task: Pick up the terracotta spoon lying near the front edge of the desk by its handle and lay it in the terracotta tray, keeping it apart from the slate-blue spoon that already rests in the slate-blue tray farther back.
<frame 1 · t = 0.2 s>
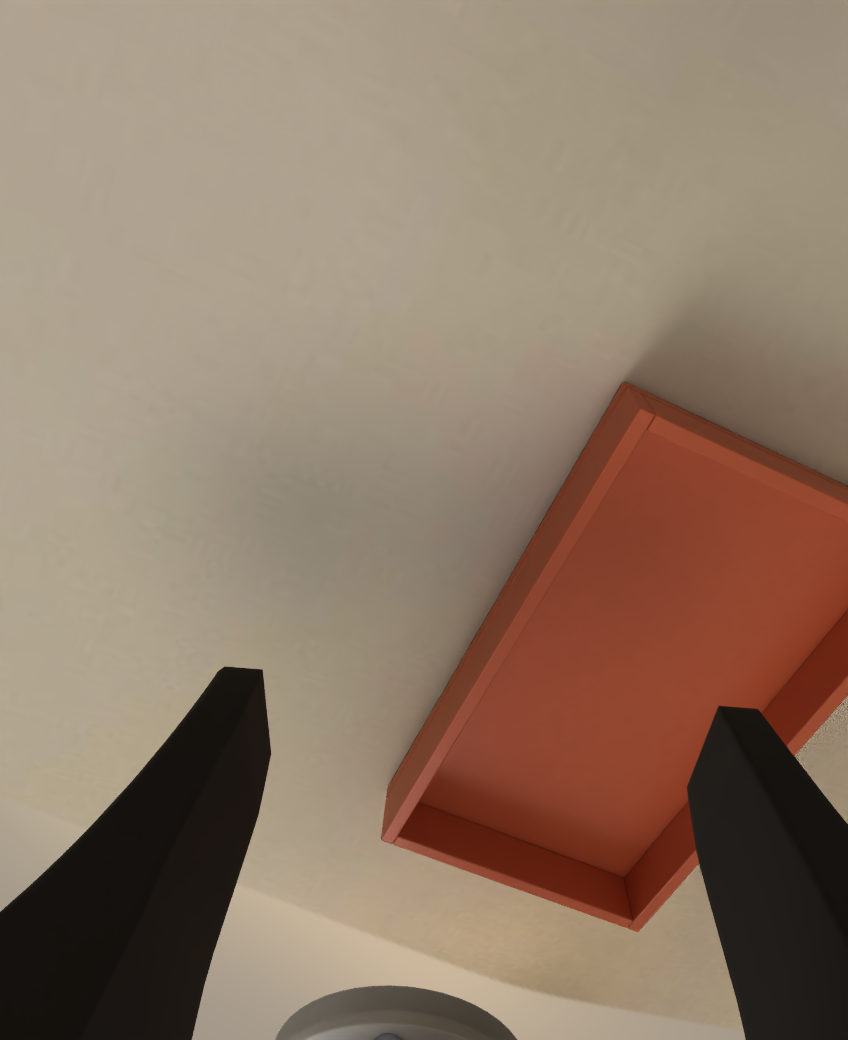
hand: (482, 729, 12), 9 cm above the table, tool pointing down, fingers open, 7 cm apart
red tray: (624, 669, 22), on the table
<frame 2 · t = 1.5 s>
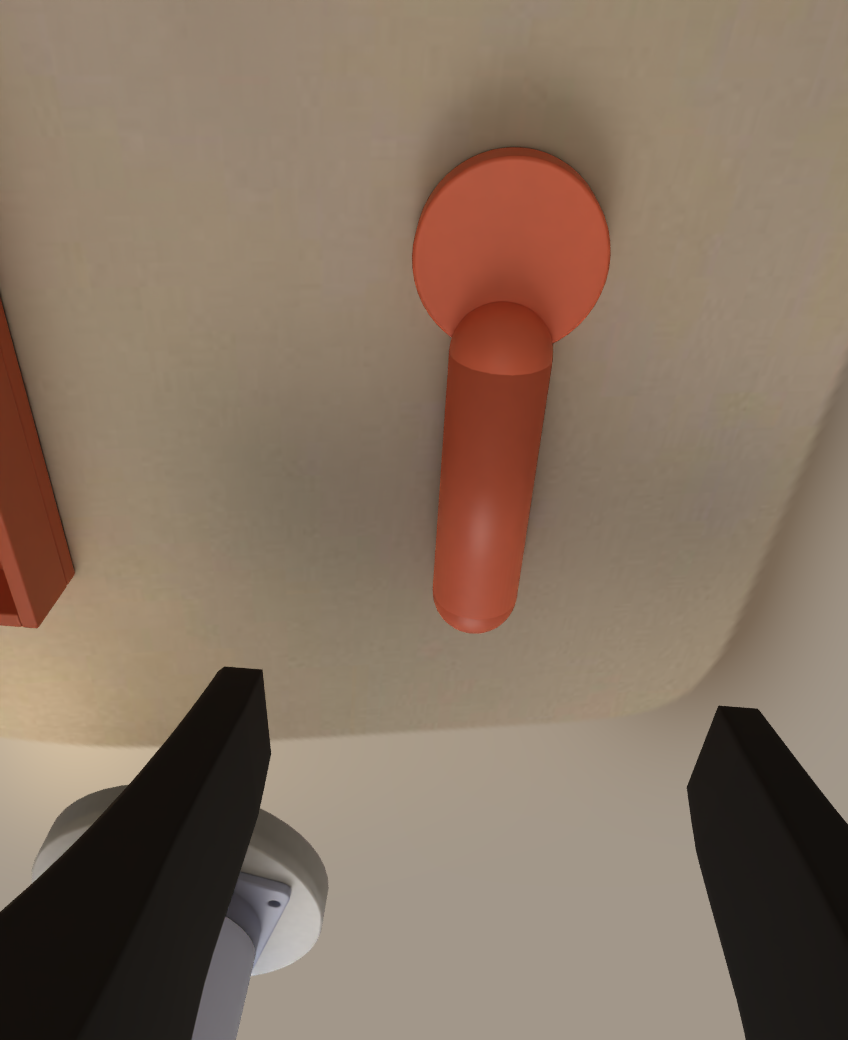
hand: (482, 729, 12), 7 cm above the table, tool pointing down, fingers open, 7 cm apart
red spoon: (492, 400, 17), on the table
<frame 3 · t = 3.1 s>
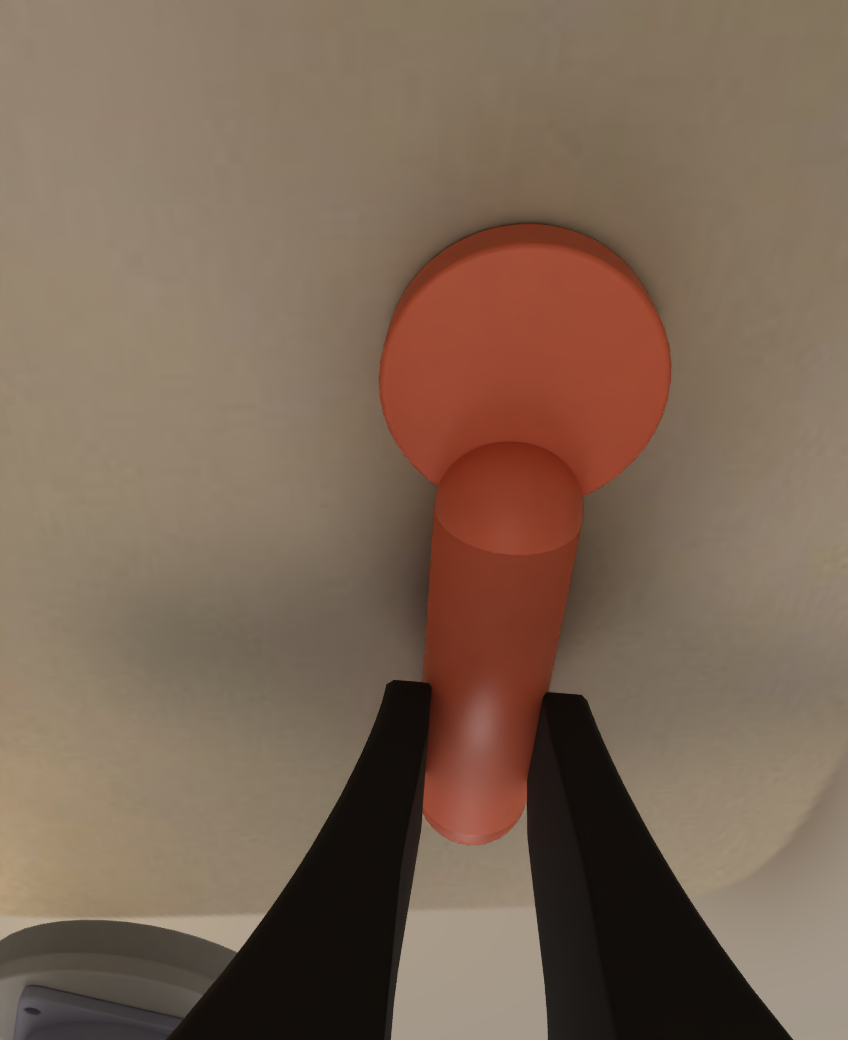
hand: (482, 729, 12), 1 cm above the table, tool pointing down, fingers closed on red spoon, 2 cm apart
red spoon: (496, 552, 12), on the table, touching gripper
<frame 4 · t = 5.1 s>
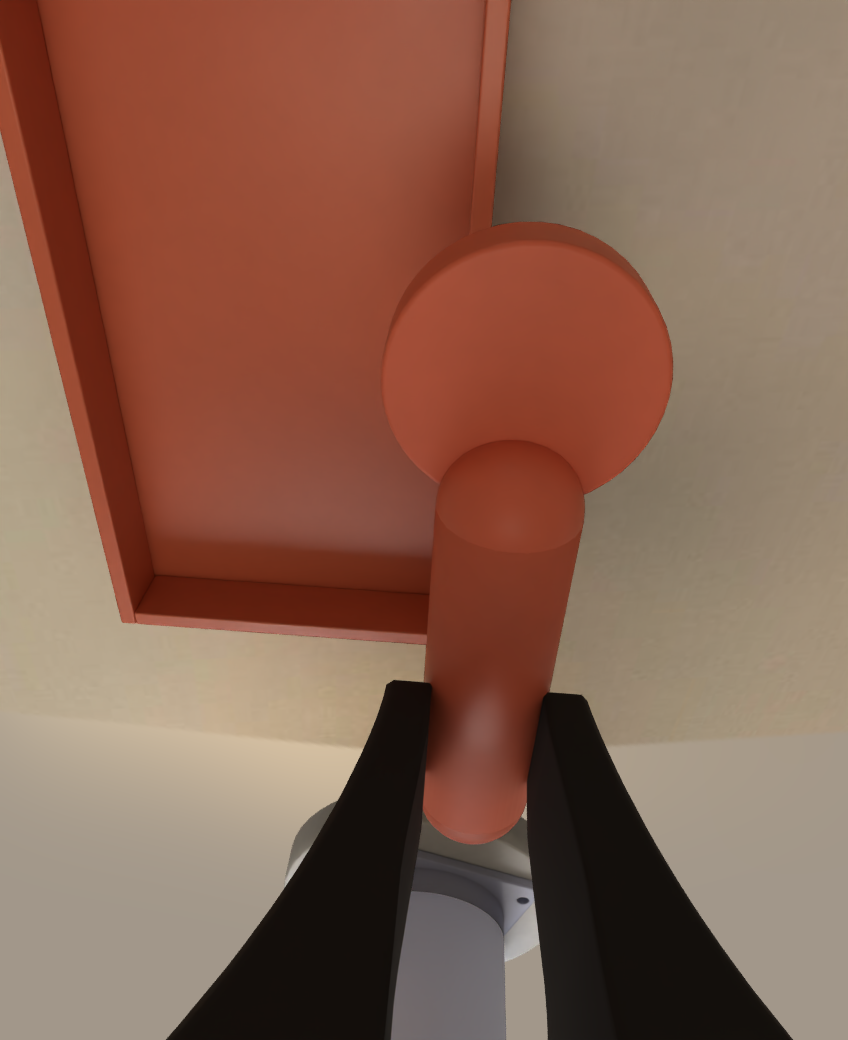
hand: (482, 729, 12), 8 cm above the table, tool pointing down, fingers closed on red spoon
red tray: (286, 335, 18), on the table
red spoon: (497, 551, 12), point 7 cm above the table, touching gripper
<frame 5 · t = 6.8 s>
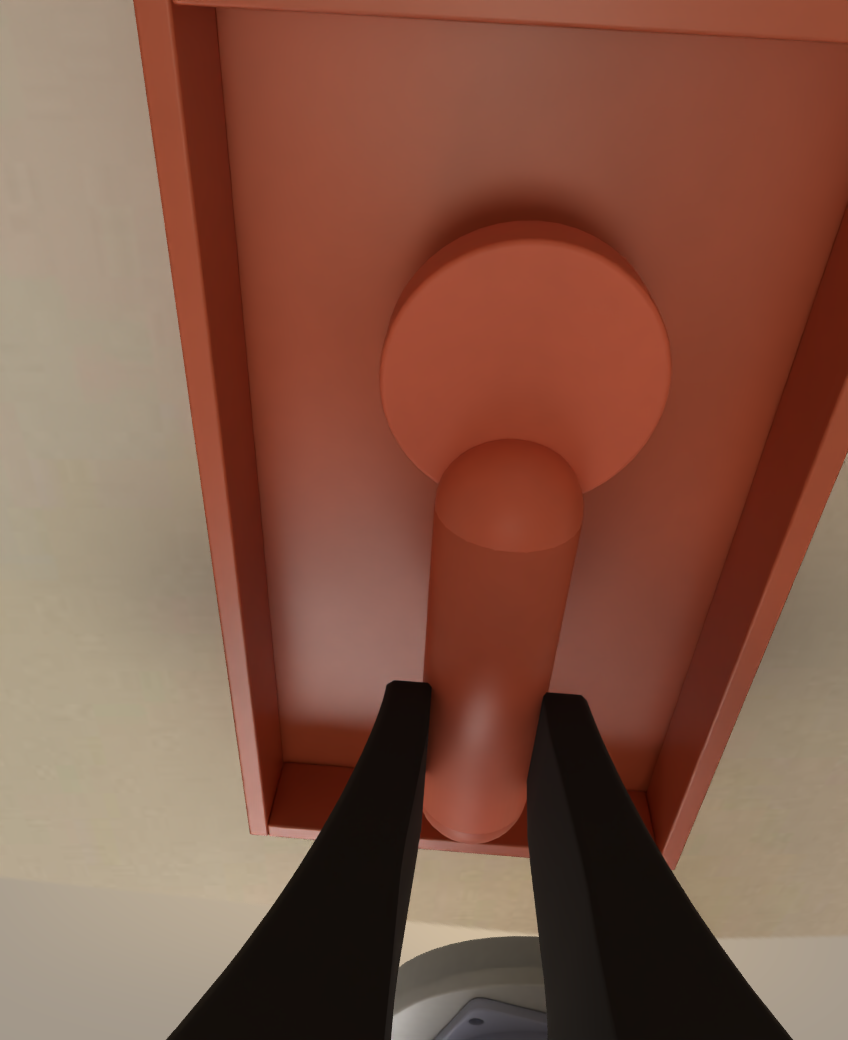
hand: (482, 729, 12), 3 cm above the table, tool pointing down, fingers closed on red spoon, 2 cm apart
red tray: (494, 498, 13), on the table
red spoon: (496, 550, 12), point 2 cm above the table, touching gripper
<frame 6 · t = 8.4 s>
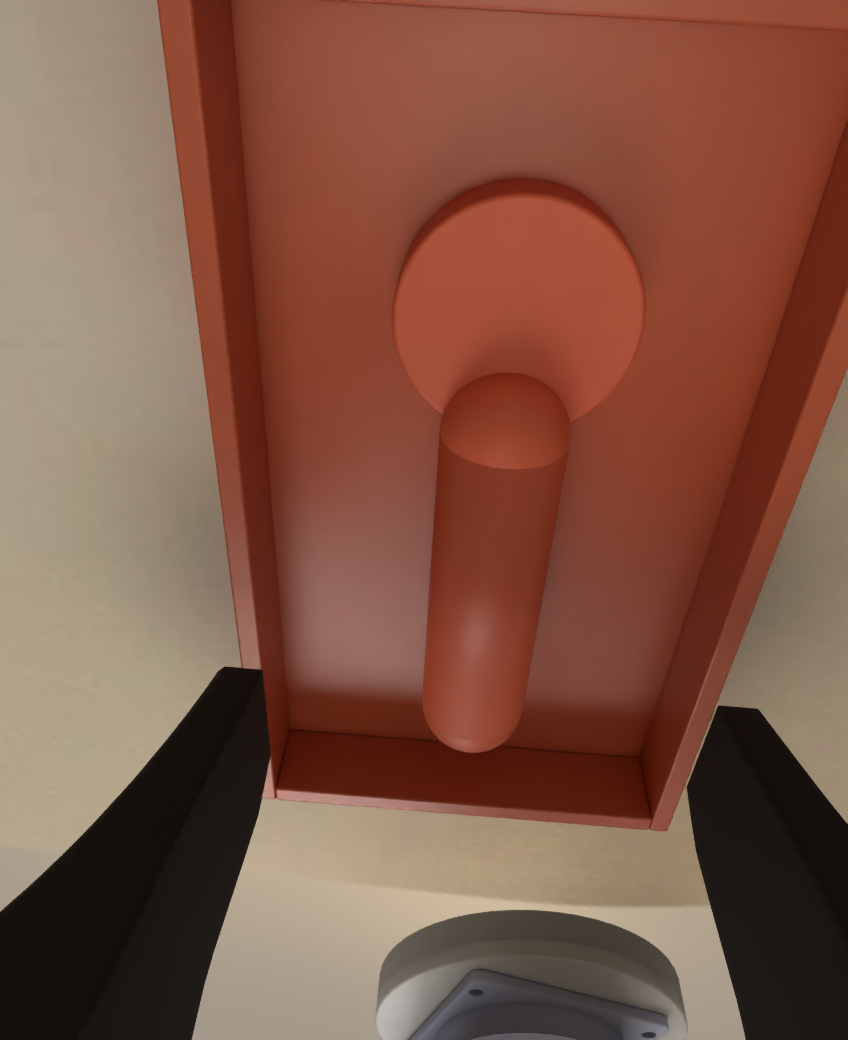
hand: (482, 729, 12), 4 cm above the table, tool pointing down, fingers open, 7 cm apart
red tray: (494, 470, 14), on the table
red spoon: (494, 482, 14), resting on red tray
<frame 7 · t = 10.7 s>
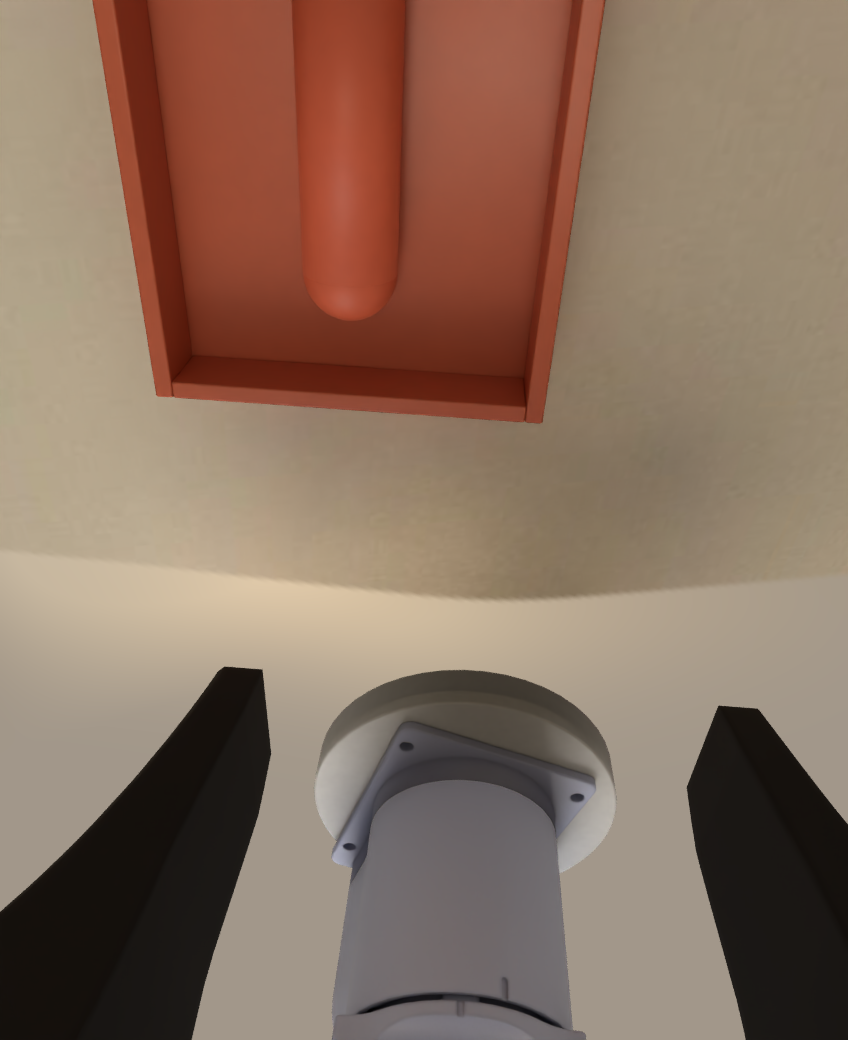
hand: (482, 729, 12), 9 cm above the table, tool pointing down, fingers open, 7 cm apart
red tray: (360, 19, 15), on the table
red spoon: (356, 17, 15), resting on red tray
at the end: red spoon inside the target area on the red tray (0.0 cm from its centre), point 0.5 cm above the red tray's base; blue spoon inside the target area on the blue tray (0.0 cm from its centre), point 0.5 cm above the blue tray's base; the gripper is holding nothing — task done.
